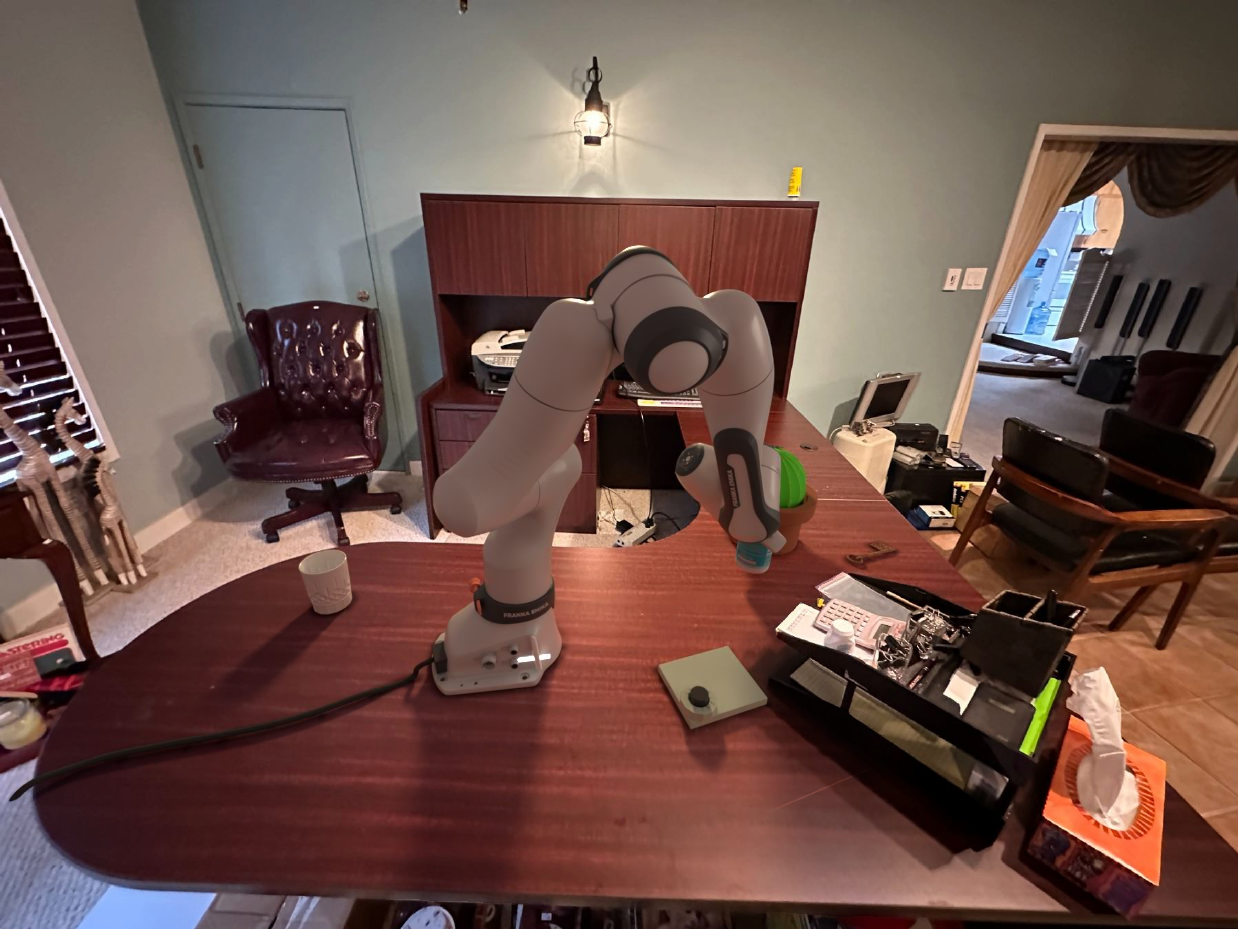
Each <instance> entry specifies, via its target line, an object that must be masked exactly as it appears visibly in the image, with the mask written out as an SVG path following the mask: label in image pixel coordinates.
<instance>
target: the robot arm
mask: <svg viewBox="0 0 1238 929" xmlns="http://www.w3.org/2000/svg"><path fill="white" fill-rule="evenodd" d="M591 289H592V291H591ZM585 293H586V294H585V300H582V299H577V298H562V299H557V300H556V301H554V302H552V303H551V304H549V305H548V306H547V307H546V308H545V309H544V310H543V312H542V314H541V315H540V316H539V318H538V320H537V321H536V323H535V324H534V326H533V328H532V330H531V331H530V333H529V335H528V337H527V340H525V343H524V344H523V346H522V349H521V351H520V353H519V356H518V359H517V361H516V364H515V366H514V369H513V371H512V375H511V377H510V380H509V382H508V385H507V387H506V391H505V392H504V395H503V397H502V401H501V402H500V406H499V407H498V410H497V411H496V413H495V414H494V417H493V418H492V419H491V421H490V422H489V423H488V425H487V426H486V427H485V428H484V430H483V432H482V433H481V434H480V435H479V437H478V438H477V439H476V440H475V442H474V443H473V444H472V445H471V447H469V448H468V450H467V451H466V453H465V454H464V455H463V456H462V457H461V458H460V459H459V460H458V461H457V462H456V463H454V464H453V465H452V466H451V467H450V468H449V469H447V470H446V471H445V472H443V473H442V474H441V475H440V476H438V478H437V479H436V481H435V483H434V485H433V490H432V507H433V510H434V513H435V516H436V517H437V519H438V520H439V522H440V523H441V525H442V526H443V527H444V528H446V529H447V530H448V531H449V532H450V533H452V534H454V535H456V536H457V537H461V538H463V539H464V538H465V539H469V538H473V537H476V536H477V537H478V536H481V535H484V534H487V535H486V536H487V537H486V538H485V541H484V543H483V546H482V562H483V573H484V574H483V576H484V581H483V582H481V579H480V578H479V577H472V578H470V579H469V581H468V587H469V589H468V590H469V592H470V593H472V594H473V596H472V597H473V600H472V601H471V602H470V603H468V604H467V605H466V606H464V607H463V608H461V609H460V610H459V611H457V612H456V613H454V614H453V615H452V616H451V617H450V619H449V620H448V622H447V625H446V627H445V631H444V632H442V633H440V634H439V636H438V637H437V638H436V640H435V643H434V644H431V645H430V646H431V648H430V649H431V657H430V658H427V659H425V660H423V661H420V662H419V663H418V664H417V665H415V666H414V667H413V671H412V673H411V674H410V675H408V676H406V677H405V678H403V679H400V680H399V681H395V682H393V683H389V684H386V685H383V686H378V687H376V688H370V689H367V690H364V691H362V692H358V693H356V694H353V695H351V696H348V697H345V698H342V699H339V700H336V701H334V702H331V703H328V704H326V705H323V706H320V707H317V708H314V709H311V710H308V711H305V712H301V713H298V714H295V715H294V714H293V715H291V716H286V717H284V718H279V719H276V720H271V721H266V722H263V723H258V724H253V725H252V724H251V725H248V726H242V727H238V728H232V729H228V730H223V731H218V732H212V733H205V734H200V735H192V736H187V737H181V738H176V739H175V738H174V739H170V740H165V741H159V742H155V743H150V744H149V743H148V744H143V745H139V746H134V747H128V748H123V749H118V750H114V751H109V752H107V753H103V754H99V755H96V756H93V757H90V758H89V757H88V758H86V759H83V760H79V761H77V762H74V763H70V764H67V765H64V766H61V767H58V768H55V769H53V770H49V771H46V772H44V773H42V774H40V775H38V776H35V777H33V778H32V779H29V780H28V781H27V782H25V783H24V784H22V785H21V786H19V787H18V788H17V789H16V790H15V791H14V792H13V794H12V795H11V796H10V797H9V799H8V802H9V803H11V802H14V801H16V800H18V799H20V798H21V797H22V796H23V795H24V794H25V793H26V792H28V791H29V790H30V789H32V788H33V787H35V786H37V785H38V784H41V783H43V782H45V781H48V780H50V779H52V778H55V777H59V776H61V775H65V774H68V773H71V772H73V771H76V770H80V769H83V768H86V767H89V766H93V765H95V764H99V763H102V762H105V761H109V760H113V759H118V758H121V757H126V756H131V755H137V754H142V753H147V752H152V751H159V750H162V749H168V748H174V747H178V746H183V745H190V744H196V743H203V742H208V741H214V740H220V739H225V738H231V737H234V736H238V735H239V736H240V735H244V734H249V733H254V732H260V731H264V730H268V729H273V728H277V727H280V726H285V725H288V724H292V723H295V722H299V721H302V720H305V719H309V718H311V717H314V716H317V715H322V714H323V713H327V712H329V711H332V710H335V709H337V708H340V707H343V706H346V705H348V704H351V703H354V702H355V701H356V702H357V701H358V700H361V699H364V698H367V697H371V696H375V695H378V694H381V693H385V692H387V691H390V690H393V689H395V688H398V687H401V686H404V685H406V684H408V683H410V682H412V681H414V679H416V678H417V677H418V676H419V674H420V670H422V669H423V668H425V667H426V666H429V665H431V671H432V677H433V681H434V683H435V685H436V687H437V689H438V690H439V691H440V692H441V693H442V694H443V695H445V696H458V695H466V694H474V693H475V694H476V693H484V692H492V691H493V692H494V691H503V690H511V689H519V688H520V689H522V688H530V687H534V686H536V685H538V684H539V683H540V681H541V679H542V677H543V675H544V673H545V671H546V670H547V669H548V668H549V667H550V666H551V665H553V663H554V662H555V661H556V660H557V658H558V657H559V655H560V653H561V651H562V648H563V640H562V639H563V638H562V634H561V633H560V630H559V628H558V625H557V621H556V615H555V611H554V610H555V605H556V604H555V603H556V602H555V601H556V584H555V579H554V577H553V575H552V574H553V573H552V571H553V570H552V567H553V566H552V565H553V544H554V543H553V542H554V537H555V534H556V530H557V527H558V523H559V520H560V517H561V514H562V511H563V508H564V506H565V503H566V501H567V499H568V497H569V495H570V493H571V491H572V490H573V488H574V487H575V485H576V484H577V483H578V481H579V479H580V478H581V476H582V472H583V462H582V461H583V460H582V456H581V453H580V451H579V449H578V447H577V445H576V444H575V441H576V439H577V437H578V435H579V433H580V431H581V429H582V427H583V426H584V423H585V421H586V419H587V417H588V415H589V413H590V411H591V409H592V408H593V406H594V404H595V401H596V400H597V397H598V395H599V393H600V391H601V389H602V386H603V384H604V381H605V380H606V379H607V378H608V376H609V375H610V374H611V373H612V372H613V371H614V370H615V369H616V368H617V367H619V366H620V365H621V364H623V363H624V367H625V369H626V371H627V372H628V374H629V375H630V377H631V378H632V379H633V381H634V382H635V383H636V384H637V385H638V386H639V388H641V389H642V390H644V392H646V393H648V394H650V395H652V396H657V397H671V396H677V395H682V394H684V393H687V392H689V391H691V390H694V389H695V388H696V391H697V395H698V398H699V402H700V405H701V407H702V411H703V415H704V418H705V421H706V425H707V429H708V432H709V435H710V440H711V444H712V445H711V444H710V445H709V444H707V443H705V442H704V443H703V442H695V443H692V444H690V445H689V446H687V447H686V448H684V450H683V451H682V452H681V453H680V455H679V456H678V459H677V460H676V465H675V476H676V478H677V480H678V481H679V483H680V485H681V487H683V489H684V490H685V491H686V492H687V494H689V495H690V496H691V497H692V498H693V499H694V500H695V501H697V502H698V503H700V504H701V505H702V507H703V509H704V510H705V512H707V513H708V514H709V515H710V516H711V517H712V518H713V519H714V520H715V521H716V522H717V523H718V524H719V526H720V527H721V529H722V530H723V531H724V532H725V533H726V534H727V535H728V537H729V536H731V537H732V538H733V539H735V540H737V541H740V542H743V543H759V542H760V543H761V544H762V545H764V546H765V547H766V548H767V549H769V550H770V551H771V552H773V553H777V552H778V551H779V550H780V549H781V548H782V547H783V546H784V545H785V543H786V539H785V538H784V537H783V536H782V534H781V533H780V532H779V531H778V529H779V528H780V512H779V505H780V482H781V481H780V480H781V456H780V454H779V452H778V451H777V450H776V449H775V448H773V447H772V446H771V445H772V444H769V443H767V442H765V435H766V431H767V425H768V422H769V416H770V410H771V405H772V401H773V400H772V399H773V394H774V385H775V364H774V356H773V348H772V344H771V343H772V342H771V338H770V335H769V331H768V327H767V325H766V324H767V323H766V321H765V318H764V316H763V313H762V311H761V308H760V306H759V304H758V303H757V301H756V300H755V299H754V298H753V297H752V296H751V295H749V294H748V293H746V292H744V291H742V290H738V289H731V288H729V289H719V290H716V291H713V292H711V293H709V294H707V295H705V296H703V297H700V296H697V295H696V293H695V290H694V289H693V288H692V286H691V285H690V283H689V281H688V280H687V279H686V278H685V277H684V275H683V274H682V273H681V272H680V271H679V269H678V268H677V266H676V264H675V263H674V262H673V261H672V260H671V258H670V257H668V256H667V255H665V254H664V252H661V251H660V250H658V249H656V248H654V247H651V246H647V245H634V246H629V247H627V248H625V249H623V250H622V251H620V252H619V253H617V254H616V255H615V256H614V257H612V258H611V259H610V260H609V261H608V262H607V263H606V265H605V266H604V267H603V269H602V270H601V272H600V273H599V274H598V275H597V276H595V277H594V278H593V279H592V280H590V282H589V284H588V285H587V287H586V292H585ZM481 583H482V584H481ZM34 778H35V779H34Z"/></svg>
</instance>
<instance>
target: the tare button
mask: <svg viewBox="0 0 1238 929" xmlns="http://www.w3.org/2000/svg"><path fill="white" fill-rule="evenodd" d="M708 697H709V693H708V691H707V690H706V689H705V688H704V687H702V686H695V687H693V688H692V689H691V693H690V702H691V703H692V705H694V706H695V707H700V708H702V707H705V706H706V705H707V703H708Z"/></svg>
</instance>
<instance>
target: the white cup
mask: <svg viewBox="0 0 1238 929" xmlns="http://www.w3.org/2000/svg"><path fill="white" fill-rule="evenodd" d="M298 571H299V573H300V576H301V579H302V583H303V586H304V588H305V591H306V593H307V596H308V599H309V600H310V602H311V605H312V607H313V610H314V612H315V613H317V614H320V615H330V614H331V615H332V614H335V613H338V612H340V611H343V610H344V609H346V608H347V607H348V606H349V605H350V604H351V602H352V600H353V594H352V587H351V586H352V584H351V576H350V570H349V565H348V558H347V554H346V553H345V552H344V551H342V550H339V549H325V550H320V551H317V552H314V553H312V554H309V555H307V556H306V557H304V558H303V559H302V560H301V561H300V562H299V565H298Z"/></svg>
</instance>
